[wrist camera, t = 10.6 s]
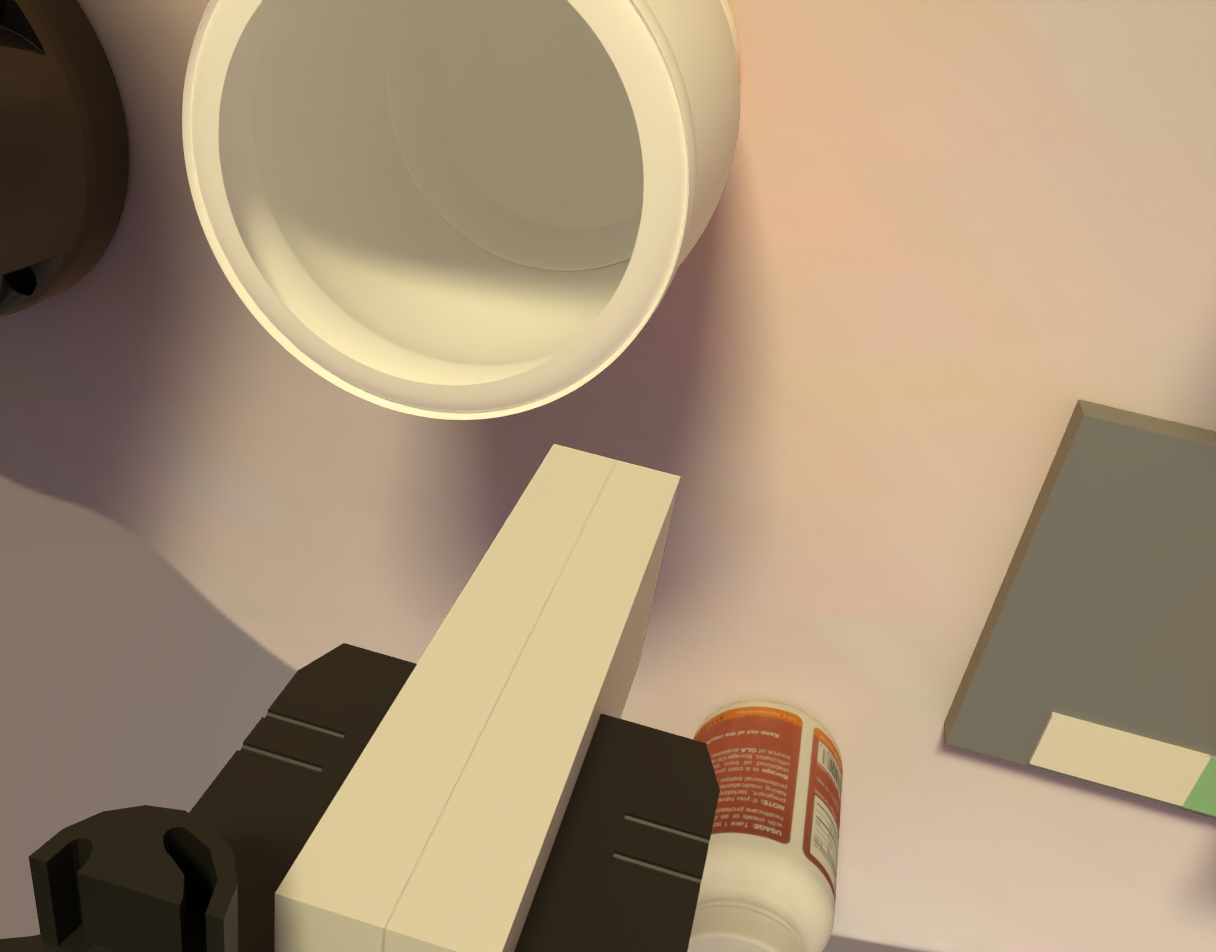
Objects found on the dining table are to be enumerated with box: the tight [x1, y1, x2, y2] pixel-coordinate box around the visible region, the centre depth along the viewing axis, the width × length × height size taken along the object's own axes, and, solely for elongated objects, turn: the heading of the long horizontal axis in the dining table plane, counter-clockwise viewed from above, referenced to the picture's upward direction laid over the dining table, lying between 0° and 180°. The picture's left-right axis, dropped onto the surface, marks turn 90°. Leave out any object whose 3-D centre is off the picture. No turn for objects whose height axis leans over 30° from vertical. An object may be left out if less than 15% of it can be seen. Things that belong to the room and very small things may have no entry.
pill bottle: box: [687, 701, 842, 952], centre depth 41 cm, size 6×6×11 cm
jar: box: [182, 0, 740, 420], centre depth 28 cm, size 11×10×15 cm
